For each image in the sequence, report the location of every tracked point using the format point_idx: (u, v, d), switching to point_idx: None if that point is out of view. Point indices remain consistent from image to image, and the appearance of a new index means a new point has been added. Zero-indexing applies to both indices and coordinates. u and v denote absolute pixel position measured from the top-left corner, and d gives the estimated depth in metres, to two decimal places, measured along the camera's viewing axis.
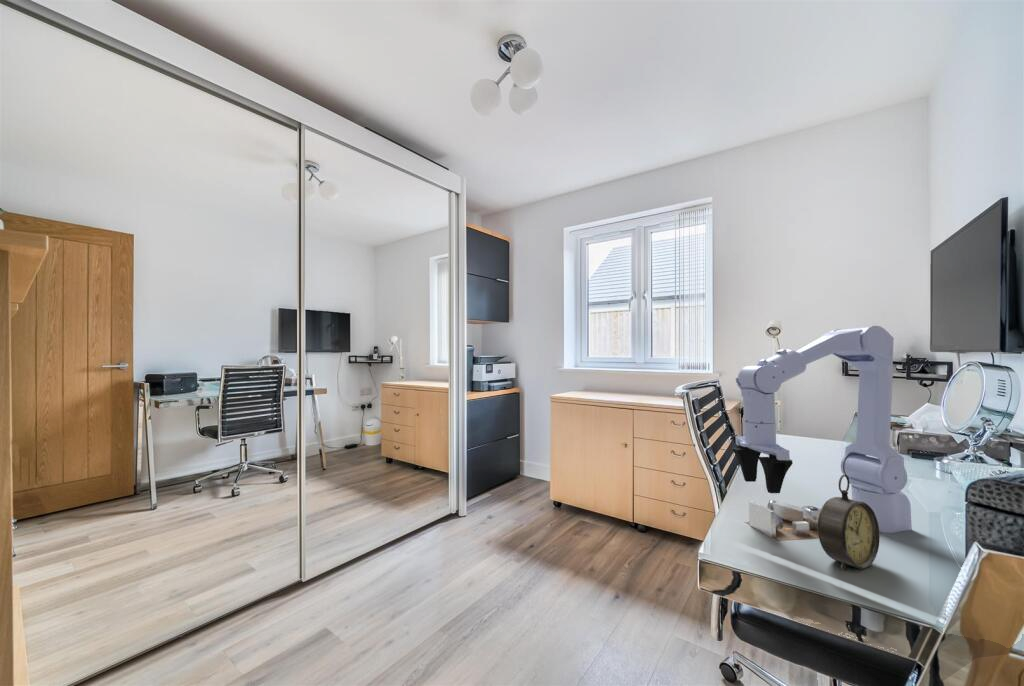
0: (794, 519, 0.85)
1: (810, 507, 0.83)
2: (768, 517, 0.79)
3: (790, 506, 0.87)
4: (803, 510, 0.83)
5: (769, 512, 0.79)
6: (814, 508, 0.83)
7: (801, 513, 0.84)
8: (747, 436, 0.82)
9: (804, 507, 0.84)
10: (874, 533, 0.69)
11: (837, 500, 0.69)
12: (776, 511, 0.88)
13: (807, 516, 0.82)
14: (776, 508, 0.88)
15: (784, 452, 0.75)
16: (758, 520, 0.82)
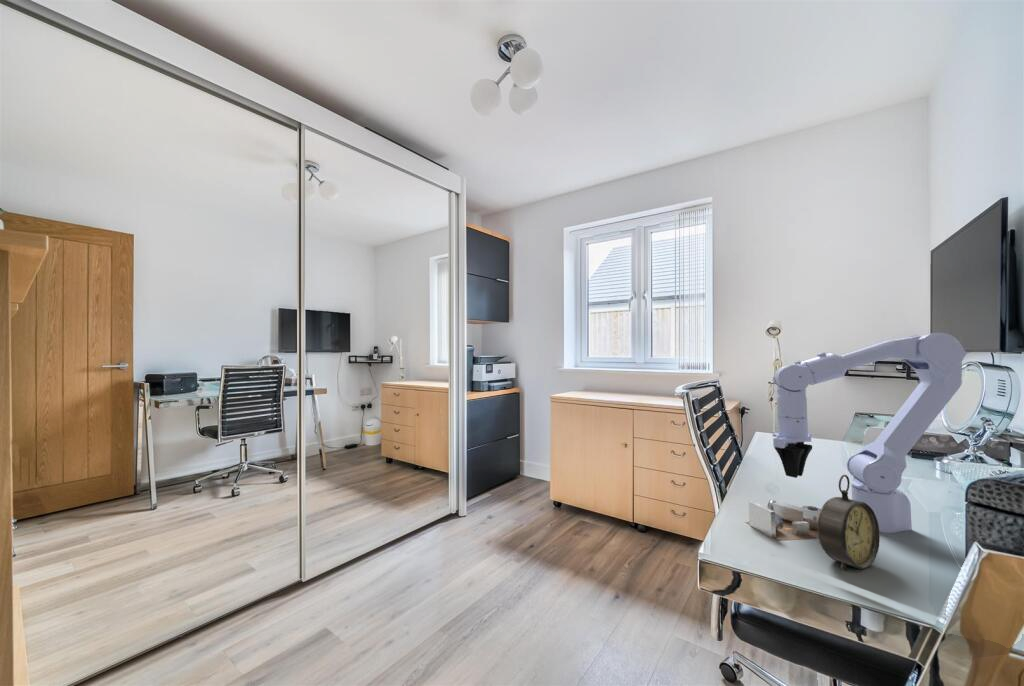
0: (794, 519, 0.85)
1: (810, 507, 0.83)
2: (768, 517, 0.79)
3: (790, 506, 0.87)
4: (803, 510, 0.83)
5: (769, 512, 0.79)
6: (814, 508, 0.83)
7: (801, 513, 0.84)
8: None
9: (804, 507, 0.84)
10: (874, 533, 0.69)
11: (837, 500, 0.69)
12: (776, 511, 0.88)
13: (807, 516, 0.82)
14: (776, 508, 0.88)
15: (778, 440, 0.87)
16: (758, 520, 0.82)
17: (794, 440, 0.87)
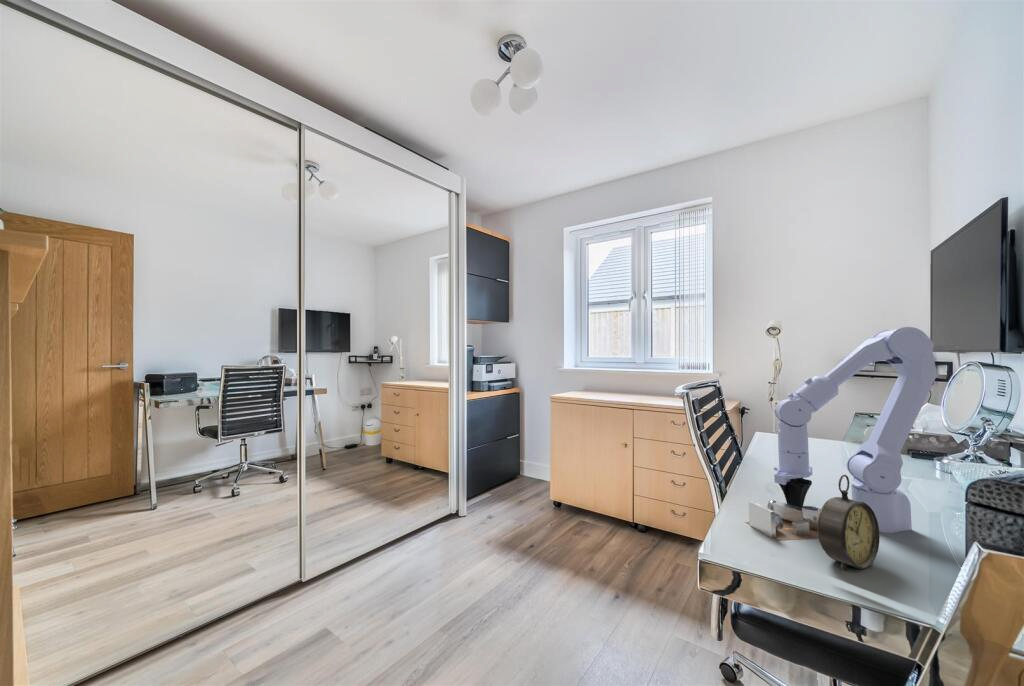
0: (794, 519, 0.85)
1: (810, 507, 0.83)
2: (768, 517, 0.79)
3: (790, 506, 0.87)
4: (803, 510, 0.83)
5: (769, 512, 0.79)
6: (814, 508, 0.83)
7: (801, 513, 0.84)
8: None
9: (804, 507, 0.84)
10: (874, 533, 0.69)
11: (837, 500, 0.69)
12: (776, 511, 0.88)
13: (807, 516, 0.82)
14: (776, 508, 0.88)
15: (779, 476, 0.87)
16: (758, 520, 0.82)
17: (795, 476, 0.87)
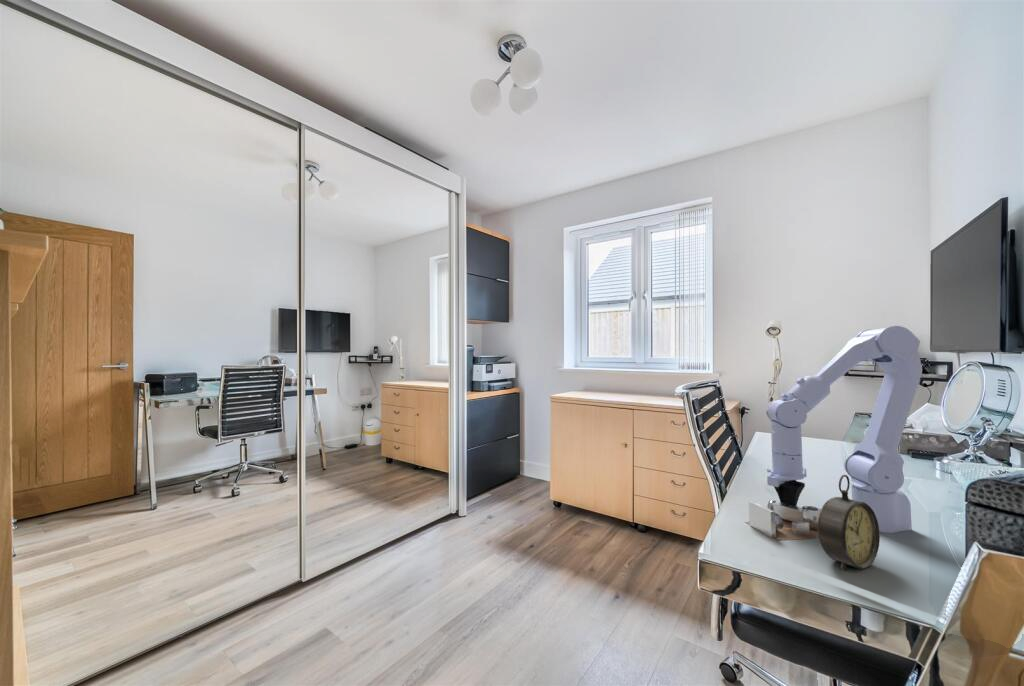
0: (794, 519, 0.85)
1: (810, 507, 0.83)
2: (768, 517, 0.79)
3: (790, 506, 0.87)
4: (803, 510, 0.83)
5: (769, 512, 0.79)
6: (814, 508, 0.83)
7: (801, 513, 0.84)
8: None
9: (805, 507, 0.84)
10: (874, 533, 0.69)
11: (837, 500, 0.69)
12: (776, 511, 0.88)
13: (807, 516, 0.82)
14: (776, 508, 0.88)
15: (772, 479, 0.85)
16: (758, 520, 0.82)
17: (788, 478, 0.85)
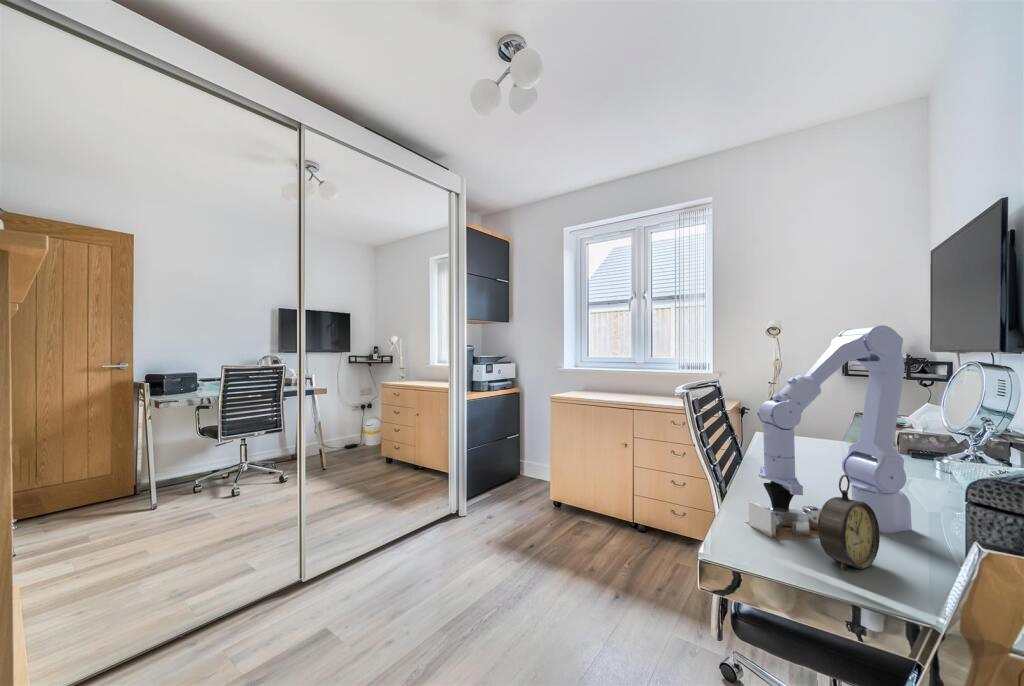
0: None
1: (811, 507, 0.83)
2: (768, 517, 0.79)
3: (789, 510, 0.84)
4: (809, 512, 0.82)
5: (769, 512, 0.79)
6: (814, 508, 0.83)
7: (807, 515, 0.82)
8: (766, 468, 0.87)
9: (807, 509, 0.83)
10: (874, 533, 0.69)
11: (837, 500, 0.69)
12: None
13: (815, 518, 0.81)
14: (780, 516, 0.83)
15: (797, 487, 0.79)
16: (758, 520, 0.82)
17: None
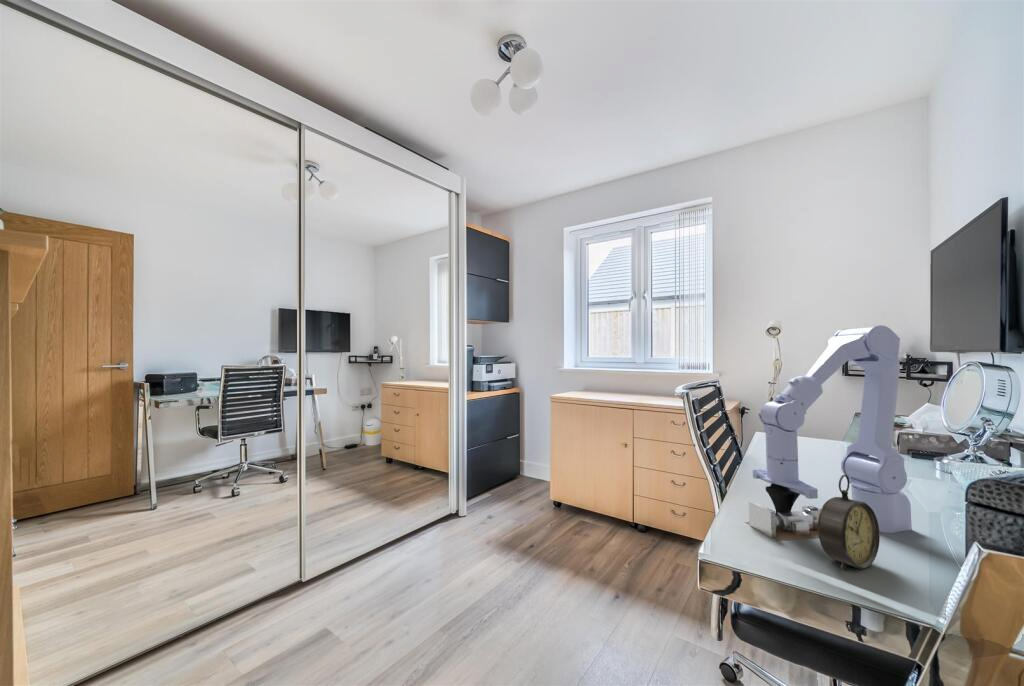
0: None
1: (812, 508, 0.83)
2: (768, 517, 0.79)
3: (794, 513, 0.83)
4: (813, 513, 0.82)
5: (769, 512, 0.79)
6: (814, 507, 0.83)
7: (811, 516, 0.82)
8: (772, 472, 0.84)
9: (809, 510, 0.82)
10: (874, 533, 0.69)
11: (837, 500, 0.69)
12: (791, 524, 0.81)
13: None
14: (791, 521, 0.81)
15: (813, 490, 0.77)
16: (758, 520, 0.82)
17: None
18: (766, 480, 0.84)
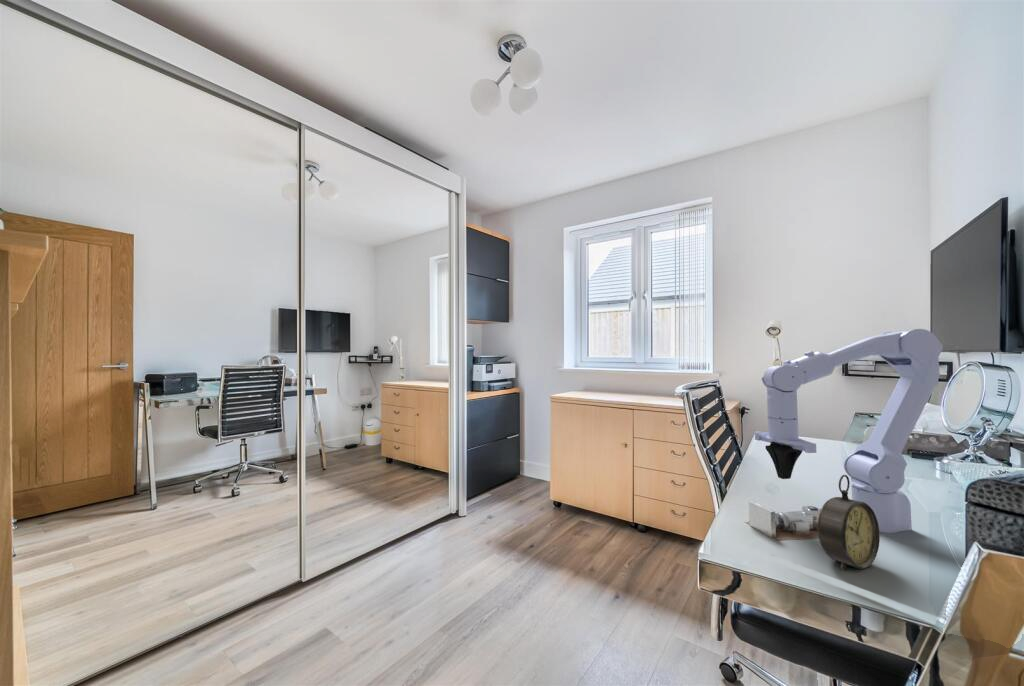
0: None
1: (812, 508, 0.83)
2: (768, 517, 0.79)
3: (795, 513, 0.83)
4: (813, 513, 0.82)
5: (769, 512, 0.79)
6: (814, 507, 0.83)
7: (811, 516, 0.82)
8: (773, 431, 0.88)
9: (810, 510, 0.82)
10: (874, 533, 0.69)
11: (837, 500, 0.69)
12: (791, 524, 0.81)
13: None
14: (791, 521, 0.81)
15: (812, 445, 0.82)
16: (758, 520, 0.82)
17: None
18: (767, 439, 0.88)
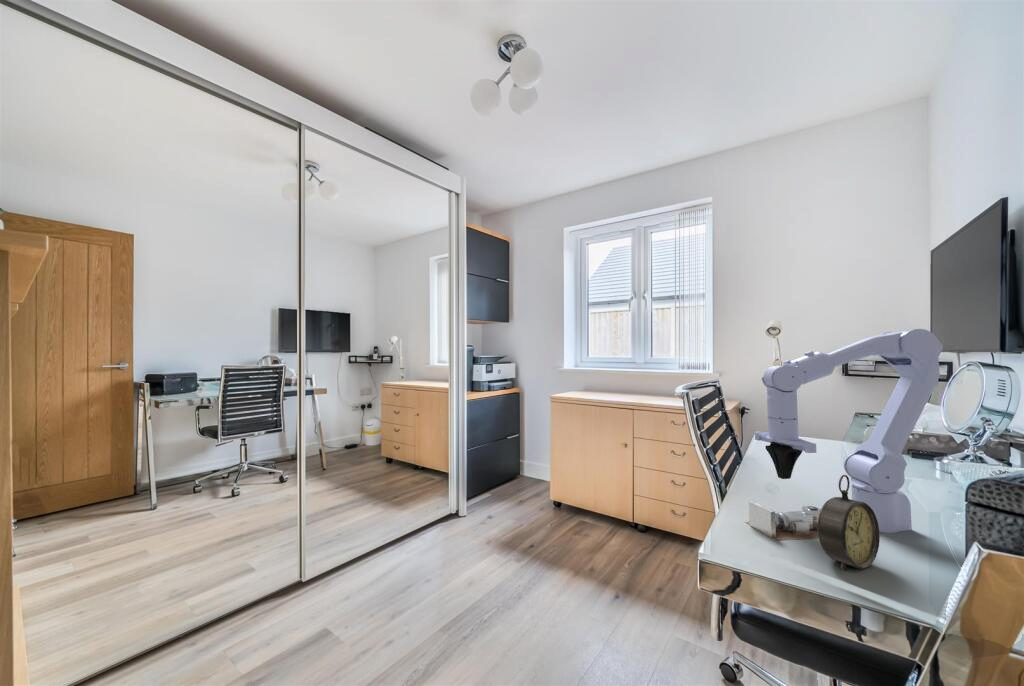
0: None
1: (812, 508, 0.83)
2: (768, 517, 0.79)
3: (795, 513, 0.83)
4: (813, 513, 0.82)
5: (769, 512, 0.79)
6: (814, 507, 0.83)
7: (811, 516, 0.82)
8: (773, 431, 0.88)
9: (810, 510, 0.82)
10: (874, 533, 0.69)
11: (837, 500, 0.69)
12: (791, 524, 0.81)
13: None
14: (791, 521, 0.81)
15: (812, 445, 0.82)
16: (758, 520, 0.82)
17: None
18: (767, 439, 0.88)
